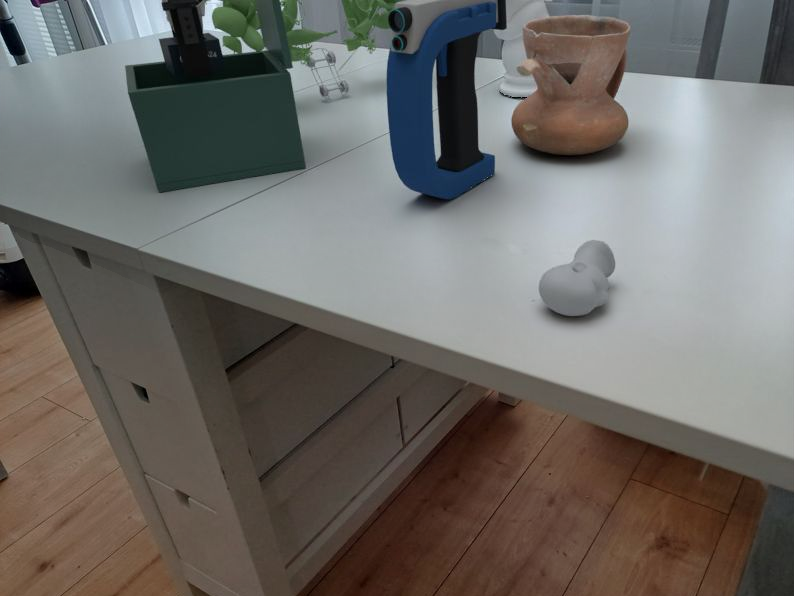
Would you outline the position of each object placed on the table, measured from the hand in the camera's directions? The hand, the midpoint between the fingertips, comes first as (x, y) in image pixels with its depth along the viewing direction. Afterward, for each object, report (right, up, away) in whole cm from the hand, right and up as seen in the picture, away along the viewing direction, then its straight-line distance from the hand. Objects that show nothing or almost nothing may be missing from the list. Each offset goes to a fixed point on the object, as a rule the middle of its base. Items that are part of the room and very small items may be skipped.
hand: (195, 66), depth 75 cm
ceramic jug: (+44, -6, +10) cm, 46 cm away
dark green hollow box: (+1, -9, +7) cm, 11 cm away
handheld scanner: (+29, -14, -1) cm, 33 cm away
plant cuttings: (+7, +9, +32) cm, 34 cm away
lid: (+8, +9, -2) cm, 12 cm away
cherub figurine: (+39, +8, +29) cm, 49 cm away
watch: (0, 0, 0) cm, 0 cm away
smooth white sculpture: (+40, -28, -21) cm, 54 cm away
